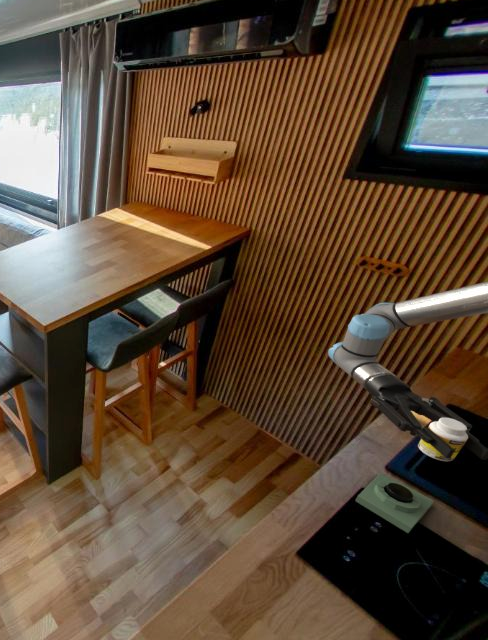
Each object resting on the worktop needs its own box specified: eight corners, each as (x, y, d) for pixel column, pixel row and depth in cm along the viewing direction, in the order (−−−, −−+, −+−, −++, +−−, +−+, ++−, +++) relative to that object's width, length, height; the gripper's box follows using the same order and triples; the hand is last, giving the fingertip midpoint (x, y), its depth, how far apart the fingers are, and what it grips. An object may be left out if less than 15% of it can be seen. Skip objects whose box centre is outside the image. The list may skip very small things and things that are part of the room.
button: (389, 484, 90) (392, 479, 89) (413, 497, 87) (416, 493, 86) (381, 492, 89) (384, 488, 88) (405, 506, 85) (408, 501, 85)
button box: (377, 477, 95) (383, 467, 93) (430, 506, 87) (437, 496, 86) (355, 501, 91) (360, 491, 89) (408, 533, 84) (415, 523, 82)
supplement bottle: (437, 464, 86) (456, 435, 82) (410, 444, 91) (426, 416, 87) (461, 460, 86) (481, 431, 82) (432, 441, 91) (449, 413, 87)
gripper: (418, 393, 101) (515, 468, 81) (337, 392, 106) (410, 463, 86) (428, 373, 98) (532, 446, 78) (345, 373, 103) (422, 441, 82)
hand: (468, 454), depth 82 cm, fingers closed on supplement bottle, 6 cm apart
